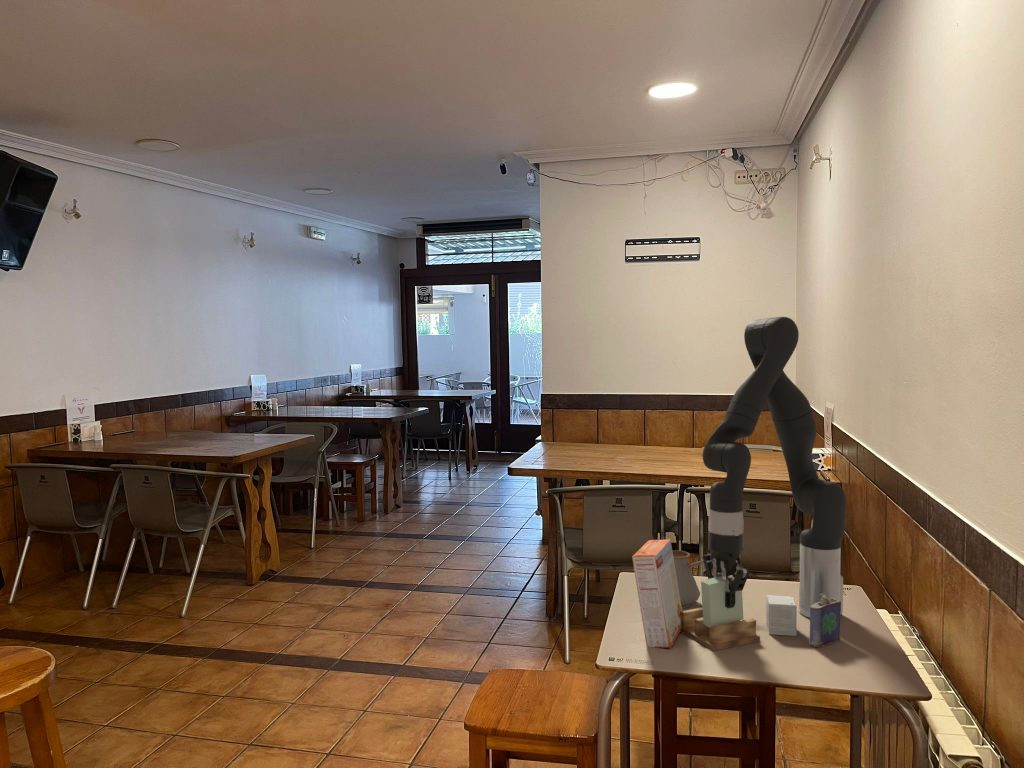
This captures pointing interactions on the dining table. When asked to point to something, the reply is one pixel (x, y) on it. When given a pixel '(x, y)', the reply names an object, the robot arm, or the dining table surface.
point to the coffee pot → (686, 578)
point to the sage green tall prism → (719, 603)
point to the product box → (781, 615)
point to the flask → (825, 621)
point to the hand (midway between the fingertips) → (724, 604)
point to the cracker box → (658, 593)
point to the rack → (718, 631)
